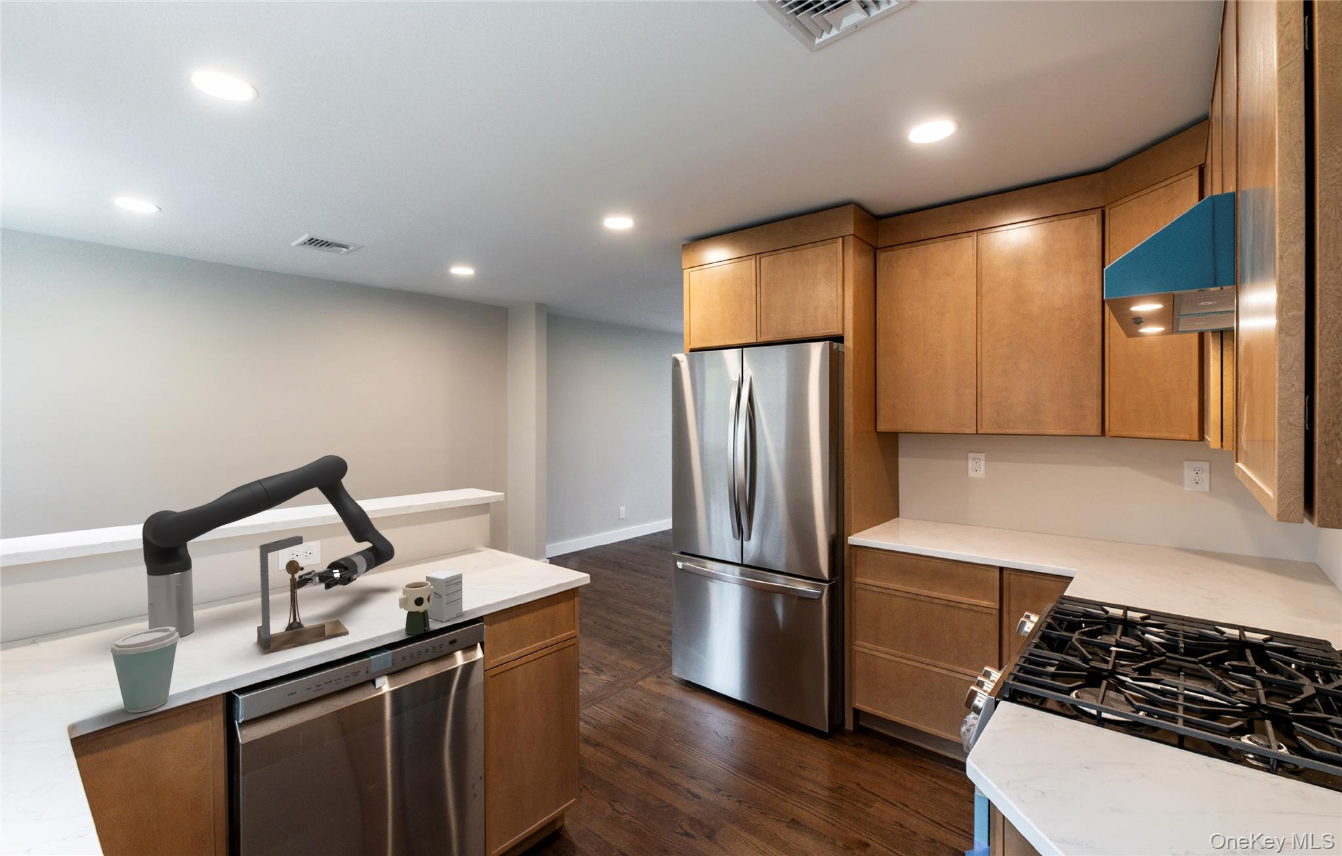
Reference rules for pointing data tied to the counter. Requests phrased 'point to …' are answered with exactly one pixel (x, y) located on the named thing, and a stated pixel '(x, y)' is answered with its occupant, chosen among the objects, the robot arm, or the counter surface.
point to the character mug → (416, 605)
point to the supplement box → (445, 595)
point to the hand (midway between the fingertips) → (310, 585)
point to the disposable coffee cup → (145, 667)
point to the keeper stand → (264, 637)
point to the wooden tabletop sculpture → (293, 595)
